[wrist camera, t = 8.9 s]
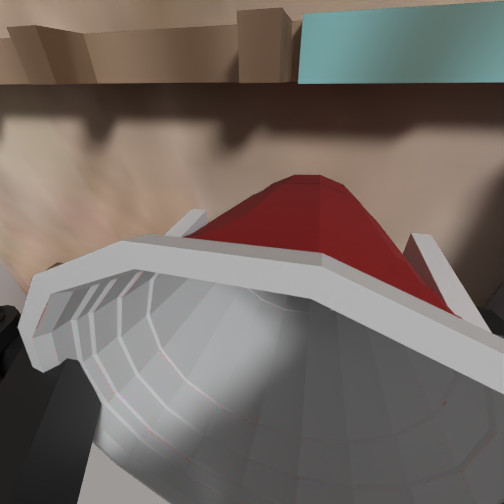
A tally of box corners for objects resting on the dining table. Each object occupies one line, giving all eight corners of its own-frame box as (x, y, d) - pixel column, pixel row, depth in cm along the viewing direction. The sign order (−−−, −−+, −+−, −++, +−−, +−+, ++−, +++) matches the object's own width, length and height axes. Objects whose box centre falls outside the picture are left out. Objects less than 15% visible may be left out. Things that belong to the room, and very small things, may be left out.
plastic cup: (272, 57, 11) (-242, -112, 1) (471, 200, 12) (1082, 752, 2) (186, 236, 17) (-2, 439, 8) (319, 319, 18) (304, 591, 9)
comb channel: (64, 277, 23) (17, 312, 20) (-57, 48, 14) (-184, 39, 11) (454, 351, 17) (487, 425, 13) (690, 9, 8) (997, -48, 4)
